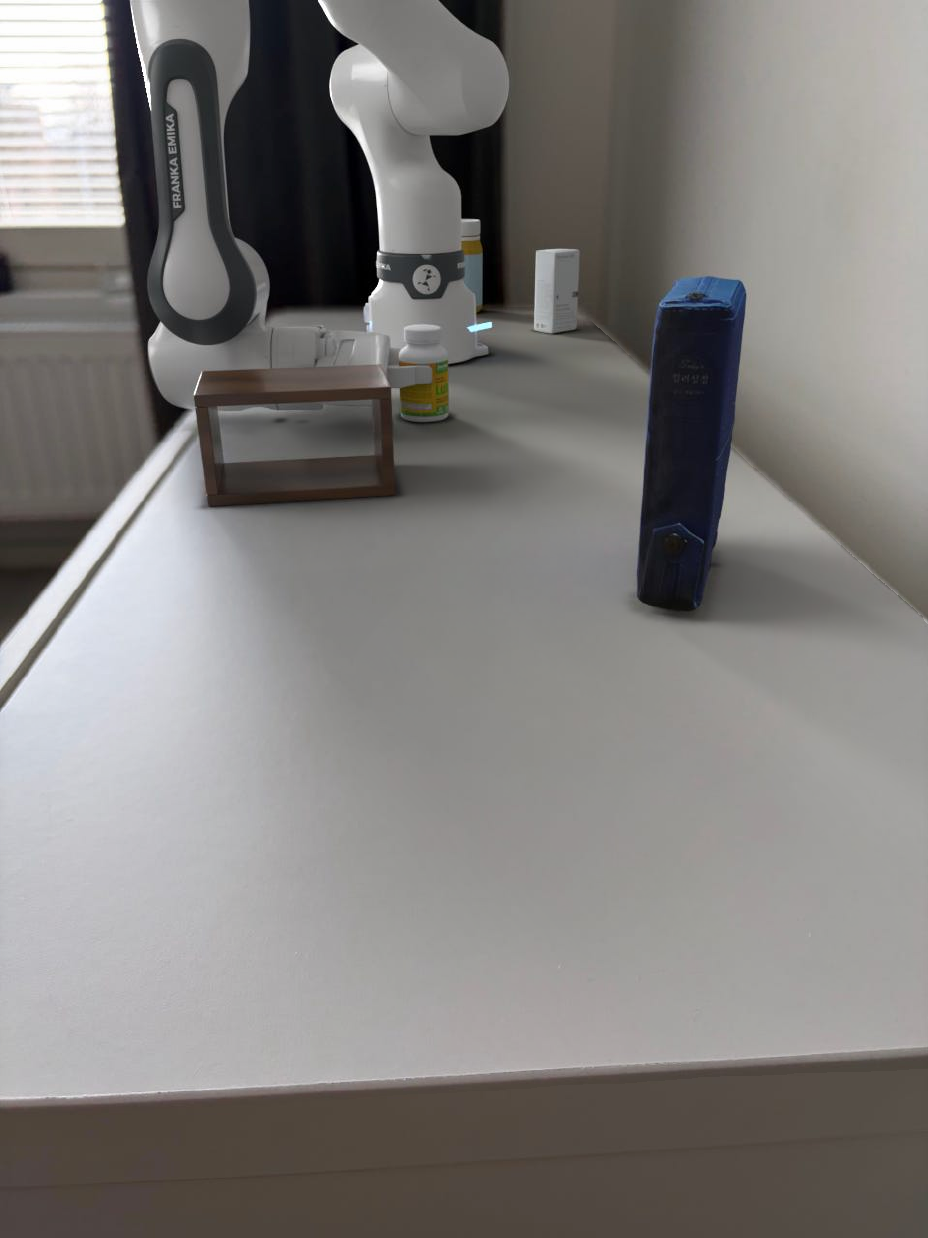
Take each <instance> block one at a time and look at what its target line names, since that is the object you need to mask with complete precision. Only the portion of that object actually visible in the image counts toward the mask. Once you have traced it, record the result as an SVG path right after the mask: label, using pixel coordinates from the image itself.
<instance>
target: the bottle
mask: <svg viewBox="0 0 928 1238" xmlns="http://www.w3.org/2000/svg"><path fill="white" fill-rule="evenodd" d="M461 249H462V250H463V251H464V258H465V277H464V278H463V281H464V283H465V285H466V286H467V287H468V288H469V289H470V290H471V291H472V293H474V294H475V299H476V314H477V313H480V312H481V310H482V308H483V276H484V275H483V271H484V270H483V269H484V268H483V263H484V261H483V259H484V257H483V255H484V253H483V245H482V243H481V220H480V219H475V218H461Z"/></svg>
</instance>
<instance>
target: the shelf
mask: <svg viewBox="0 0 928 1238" xmlns="http://www.w3.org/2000/svg"><path fill="white" fill-rule="evenodd" d="M351 400H372V406H371V409H372V426H373V427H372V428H373V429H372V431H373V432H372V433H373V450H374V451H373V452H374V453H373V454H372V455H371V454H368V455H352V456H334V457H333V456H330V457H314V458H313V457H311V458H295V459H278V460H277V459H275V460H274V459H273V460H255V461H240V462H239V461H237V462H225V460H224V453H223V451H224V450H223V444H222V443H223V442H222V435H221V426H220V418H219V417H220V416H219V411H218V409H217V406H239V405H261V404H284V403H306V402H329V401H351ZM194 403H195V407H196V408H195V410H194V411H195V417H196V424H197V425H196V426H197V432H198V439H199V448H200V455H201V463H202V471H203V479H204V486H205V494H206V501H207V502H206V503H207V506H208V507H219V506H220V507H221V506H235V505H236V506H237V505H238V506H239V505H252V504H255V505H256V504H270V503H272V504H273V503H285V502H286V503H287V502H289V503H290V502H304V501H305V502H306V501H320V500H337V499H338V500H339V499H355V498H372V497H386V496H387V497H388V496H390V497H391V496H395V495H396V485H395V484H396V483H395V482H396V481H395V480H396V479H395V456H394V454H395V453H394V427H393V425H394V424H393V400H392V388H391V386H390V384H389V382H388V379H387V377H386V375H385V372H384V370H383V368H382V365H381V364H375V365H350V366H324V367H299V368H273V369H248V370H222V371H202V372H201V375H200V378H199V381H198V384H197V387H196V390H195V393H194Z"/></svg>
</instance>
